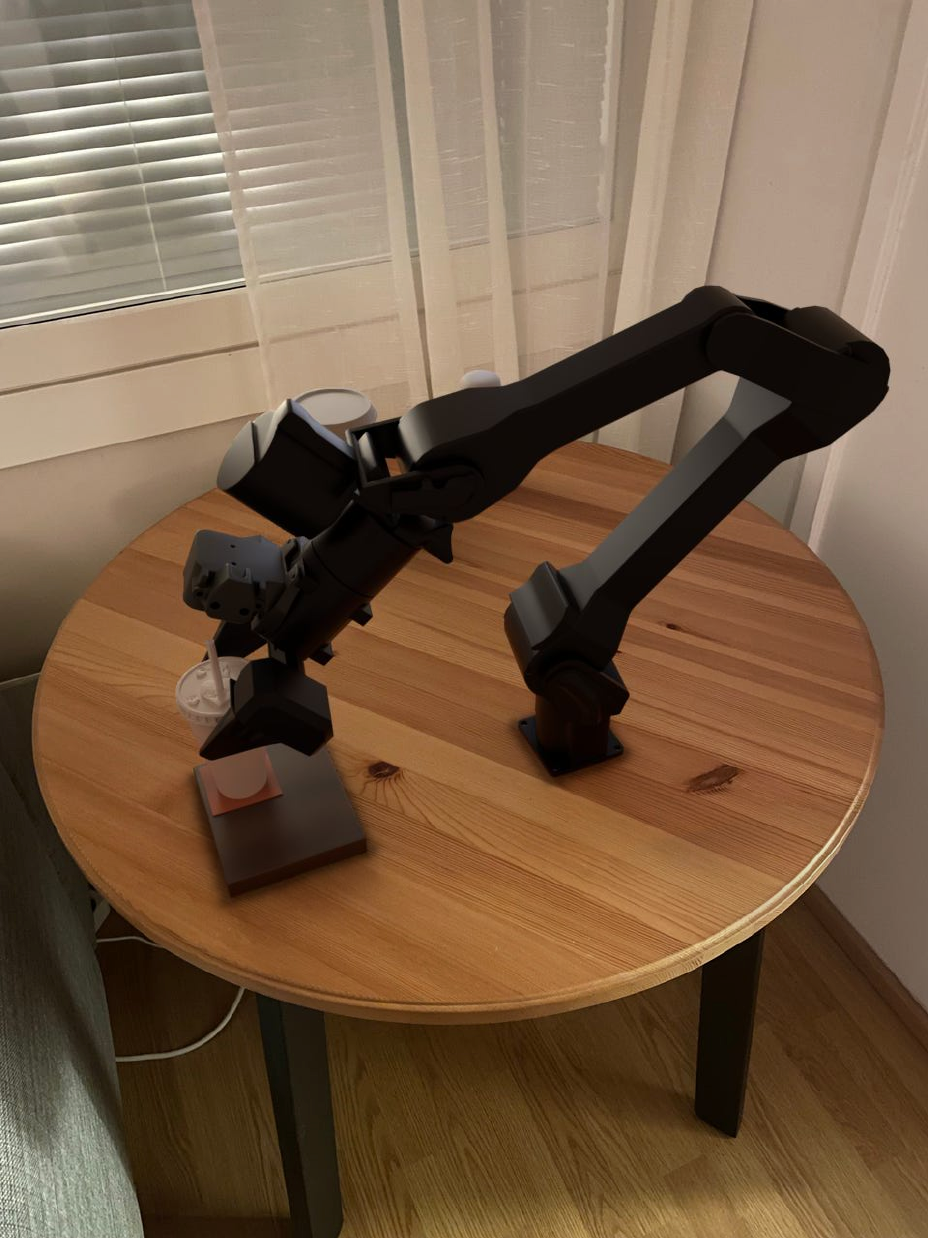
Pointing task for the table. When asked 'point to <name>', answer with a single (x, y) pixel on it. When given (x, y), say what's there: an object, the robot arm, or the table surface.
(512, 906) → the table surface
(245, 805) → the board
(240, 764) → the smoothie
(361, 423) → the disposable coffee cup
